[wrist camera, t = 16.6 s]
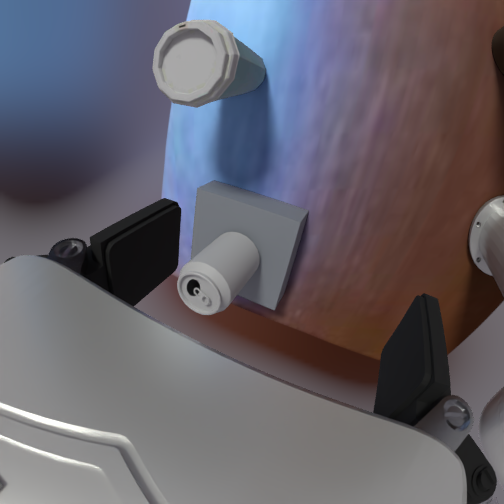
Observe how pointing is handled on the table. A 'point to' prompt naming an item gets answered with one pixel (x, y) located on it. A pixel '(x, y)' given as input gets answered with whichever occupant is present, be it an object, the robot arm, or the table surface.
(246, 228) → the grey block
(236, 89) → the disposable coffee cup
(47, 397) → the robot arm
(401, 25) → the table surface
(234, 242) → the can
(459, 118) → the table surface
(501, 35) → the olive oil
